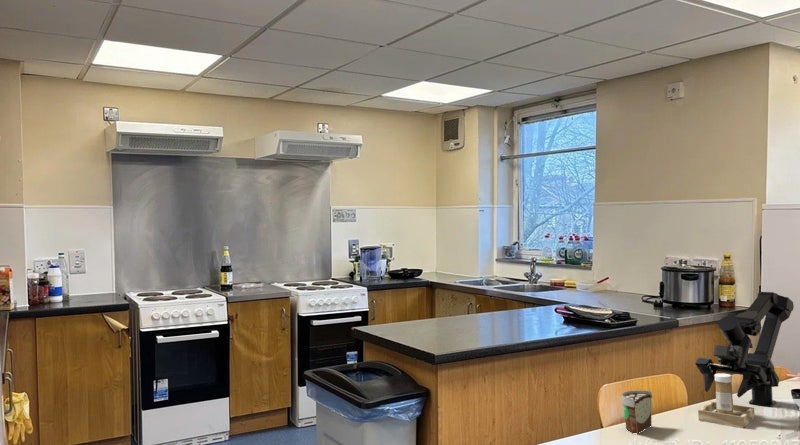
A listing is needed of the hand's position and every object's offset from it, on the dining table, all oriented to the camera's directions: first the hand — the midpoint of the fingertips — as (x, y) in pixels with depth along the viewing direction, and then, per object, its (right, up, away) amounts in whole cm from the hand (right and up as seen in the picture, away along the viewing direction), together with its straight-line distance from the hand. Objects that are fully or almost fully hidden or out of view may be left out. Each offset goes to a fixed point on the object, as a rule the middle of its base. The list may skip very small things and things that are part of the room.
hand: (721, 393), depth 180 cm
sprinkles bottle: (+2, -8, +1) cm, 8 cm away
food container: (-27, -9, -4) cm, 29 cm away
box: (+2, -8, +1) cm, 8 cm away
